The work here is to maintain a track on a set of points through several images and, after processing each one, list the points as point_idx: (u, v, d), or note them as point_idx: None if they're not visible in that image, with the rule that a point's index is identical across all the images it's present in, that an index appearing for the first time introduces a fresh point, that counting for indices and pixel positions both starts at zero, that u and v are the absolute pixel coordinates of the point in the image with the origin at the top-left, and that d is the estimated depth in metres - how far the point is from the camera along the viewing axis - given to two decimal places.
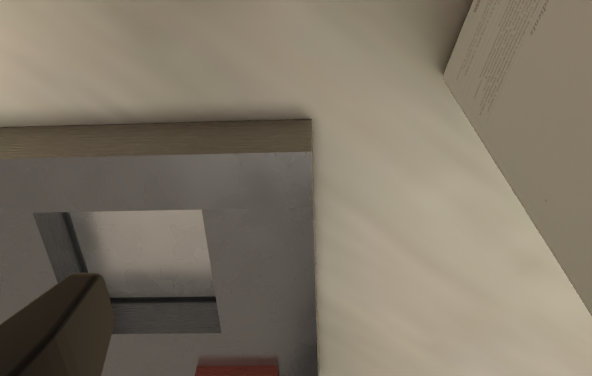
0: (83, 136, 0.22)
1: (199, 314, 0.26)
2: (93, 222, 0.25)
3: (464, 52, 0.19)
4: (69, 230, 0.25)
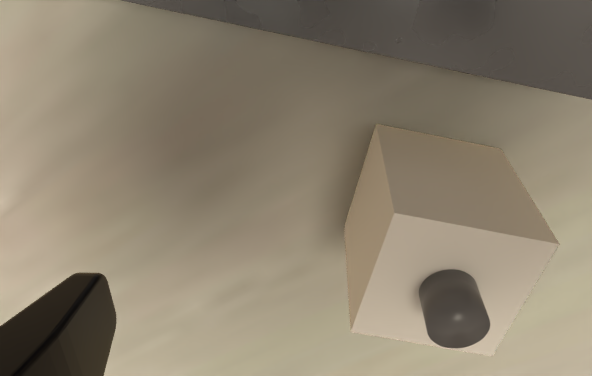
0: None
1: None
2: None
3: None
4: None
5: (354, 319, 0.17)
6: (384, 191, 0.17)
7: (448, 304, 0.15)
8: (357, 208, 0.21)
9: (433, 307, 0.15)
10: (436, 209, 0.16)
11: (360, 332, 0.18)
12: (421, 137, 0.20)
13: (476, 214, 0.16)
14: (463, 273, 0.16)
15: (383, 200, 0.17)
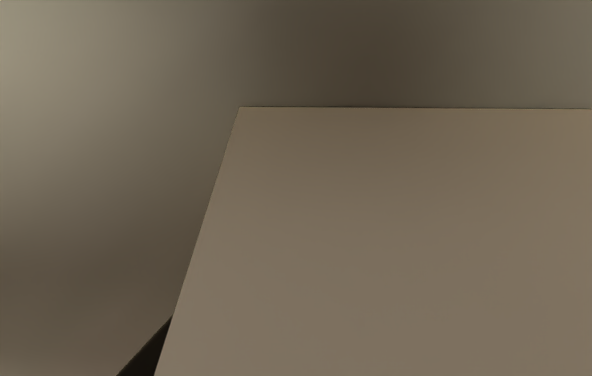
0: None
1: None
2: None
3: None
4: None
5: None
6: None
7: None
8: None
9: None
10: None
11: None
12: (363, 121, 0.07)
13: None
14: None
15: None
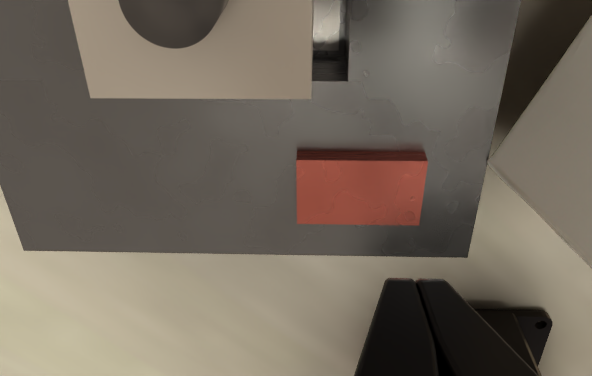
0: None
1: None
2: None
3: None
4: None
5: None
6: None
7: None
8: None
9: None
10: None
11: None
12: None
13: None
14: None
15: None
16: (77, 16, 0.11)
